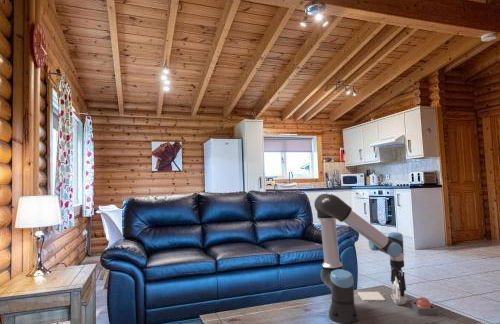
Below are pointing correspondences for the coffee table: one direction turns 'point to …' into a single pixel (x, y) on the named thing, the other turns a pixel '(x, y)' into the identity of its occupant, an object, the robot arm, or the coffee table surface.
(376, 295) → the game square
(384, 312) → the coffee table surface
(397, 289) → the white faucet
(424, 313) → the housing
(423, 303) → the pink ball
